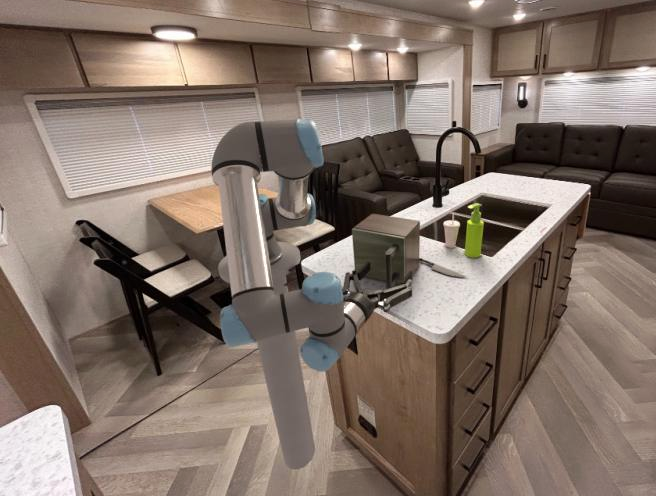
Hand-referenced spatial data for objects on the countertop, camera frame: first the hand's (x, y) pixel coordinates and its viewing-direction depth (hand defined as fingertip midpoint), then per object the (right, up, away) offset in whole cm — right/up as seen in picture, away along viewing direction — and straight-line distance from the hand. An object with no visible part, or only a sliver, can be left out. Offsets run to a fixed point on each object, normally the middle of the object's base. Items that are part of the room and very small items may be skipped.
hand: (389, 270), depth 95 cm
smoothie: (+23, +5, +33) cm, 40 cm away
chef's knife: (+17, -2, +15) cm, 23 cm away
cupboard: (-1, -2, +17) cm, 17 cm away
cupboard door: (-5, -6, +8) cm, 11 cm away
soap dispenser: (+30, +2, +26) cm, 40 cm away
